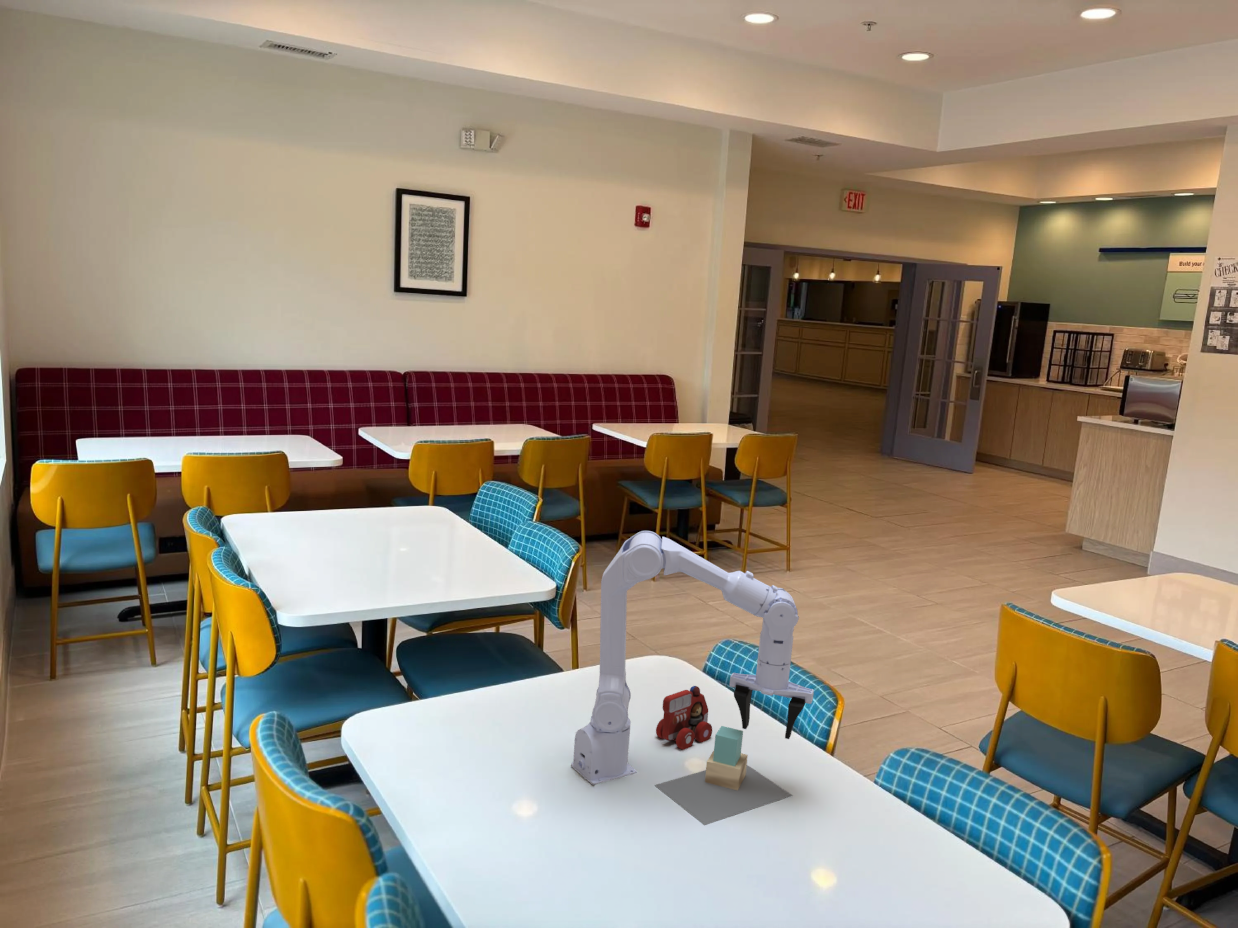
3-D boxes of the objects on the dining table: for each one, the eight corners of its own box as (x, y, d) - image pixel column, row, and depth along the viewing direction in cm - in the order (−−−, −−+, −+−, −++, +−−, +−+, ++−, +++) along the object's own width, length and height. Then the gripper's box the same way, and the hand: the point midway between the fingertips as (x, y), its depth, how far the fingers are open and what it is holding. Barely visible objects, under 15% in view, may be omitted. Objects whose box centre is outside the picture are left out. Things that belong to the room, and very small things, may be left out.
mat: (704, 827, 153) (704, 824, 153) (653, 787, 164) (654, 784, 164) (792, 797, 164) (792, 795, 164) (739, 761, 175) (740, 759, 175)
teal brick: (734, 766, 165) (737, 739, 164) (713, 760, 166) (715, 734, 165) (740, 756, 168) (743, 730, 167) (719, 751, 170) (721, 725, 169)
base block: (737, 790, 164) (739, 769, 164) (704, 781, 166) (706, 761, 166) (745, 774, 170) (747, 754, 169) (713, 767, 172) (715, 746, 171)
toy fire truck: (718, 738, 185) (722, 688, 183) (674, 755, 176) (679, 704, 174) (692, 724, 190) (696, 676, 188) (648, 741, 181) (653, 691, 179)
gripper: (728, 658, 162) (721, 731, 165) (811, 675, 157) (803, 750, 160) (738, 645, 169) (731, 715, 171) (818, 661, 164) (810, 733, 166)
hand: (766, 731), depth 166 cm, fingers open, 7 cm apart
